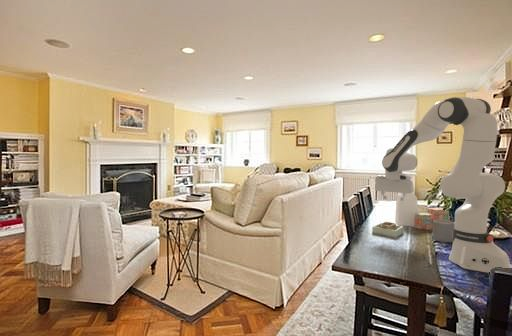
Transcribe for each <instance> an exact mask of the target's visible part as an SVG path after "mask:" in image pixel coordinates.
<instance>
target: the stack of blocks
mask: <svg viewBox="0 0 512 336" xmlns="http://www.w3.org/2000/svg"><path fill="white" fill-rule="evenodd" d="M443 208H444V207H427V209H426V210H427V211H426V212H418V213H415V219H414V222H415V223H414V226H413V227H414V228H416V229H419V230H433V220H448V221H450V216H449V212H447V211H444V210H443Z"/></svg>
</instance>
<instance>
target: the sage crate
mask: <svg viewBox="0 0 512 336" xmlns="http://www.w3.org/2000/svg"><path fill="white" fill-rule="evenodd" d="M382 223H383V222H380V223H378V224H377V223H376V224H375V225H372V231H371V233H372V234H373V233H374V234H373V235H379V236H384V237H389V238H394V239H397V238H398V237H399V236H401V235H403V234H404V226H401V225H398V224H396V230H390V229H384V228H380V224H382Z"/></svg>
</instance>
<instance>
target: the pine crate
mask: <svg viewBox="0 0 512 336" xmlns="http://www.w3.org/2000/svg"><path fill="white" fill-rule="evenodd" d="M381 223H382V224H380V228H384V229H390V230H396V225H397V223H396V222H392V221H391V222H390V221H384V222H381Z"/></svg>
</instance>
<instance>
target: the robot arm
mask: <svg viewBox="0 0 512 336" xmlns="http://www.w3.org/2000/svg"><path fill="white" fill-rule="evenodd" d="M491 110H492V109H491V104H490V103H489V102H487V101H486V100H484V99H482V98H474V97H473V98H472V97H468V96H467V97H466V96H461V97H459V96H458V97H456V96H455V97H449V98H446V99H444V100H440V101H437V102H435V103H434V104H433V105H432V106H431V107H430V109H428V111H427V112H426V113H425V114H424V116H422V118H421V120H420V121H419V122H418V123H417V124H416V125H415V126H414V127H413V128H412V129H410V130H408V131H407V132H406V133H405V134H404V136H403V137H402V138H401V139H399V141H398V142H397V143H396V144H395V146H394V147H392V148H389V149H387V150H386V153H385V155H384V157H383V158H382V161H381V162H382V163H381V164H382V167H383V169H385V172H384V173H385V174H384V175H377V176H375V178H374V181H375V185H374V191H376V192H380V194H381V195H382V198H383V200H388V198H387V195H385V193H386V192H387V193H397V194H398V193H403V197H401V198H400V201H404V197H405V196H406V193H413V192H414V182H413V181H412V180H411V179H412V176H411V175H410V174H409V175H408V174H405V173H403V172H411V171H413V170H415V169H416V168H417V167H418V158H417V156H416V155H415V154H413V153H409V152H408V151H409V150H410V149H411V148H412V147H414V146H415V145H418V144H421V143H425V142H431V141H433V140H436V139H437V138H439V137H440V136H441V135H442V134H443V133H444V131H445V130H446V128H447V127H448V126H449V125H450V124H452V125H455V126H459V125H461V126H462V128H463V135H462V141H461V148H460V151H459V155H458V156H459V157H458V159H457V162H456V163H455V165H454V167H453V168H452V169H451V171H450V172H449V173H447V174H446V175H444V176H443V177H442V178H441V180H440V184H439V187H440V192H441V193H442V195H444V196H445V197H448V198H453V199H458V200H461V199H463V200H464V199H465V200H464V202H463V204H462V205H461V206H459V207H457V209H456V210H455V212H454V222H455V223H454V228H453V233H452V239H453V242H452V246H451V251H450V254H449V256H448V260H449V261H450V262H451V263H453V264H456V265H458V266H459V267H461V268H462V269H465V270H470V271H476V272H482V273H487V274H490V273H489V272H490V270H491V269H492V268H495V267H502V268H512V264H511V262H510V257H509V256H508V255H509V254H507V252H505V250H503V249H502V248H501V247H500V246H497V245H496V244H495V243H494V242H493V241H494V237H493V234H492V233H489V232H487V227H488V217H489V212H490V209H491V208H492V206H493V203H494V202H495V200H497V198H498V197H500V196H501V195H502V194H504V192H505V190H506V183H505V181H504V179H503V177H501V176H500V175H498V174H494V173H489V172H482V171H483V169H484V168H485V167H486V166H487V165H489V164H490V163H491V162H492V161H493V160H494V156H495V151H496V150H495V149H496V147H497V146H496V145H497V139H498V120H497V117H496V116H495V115H493V114H491Z"/></svg>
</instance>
